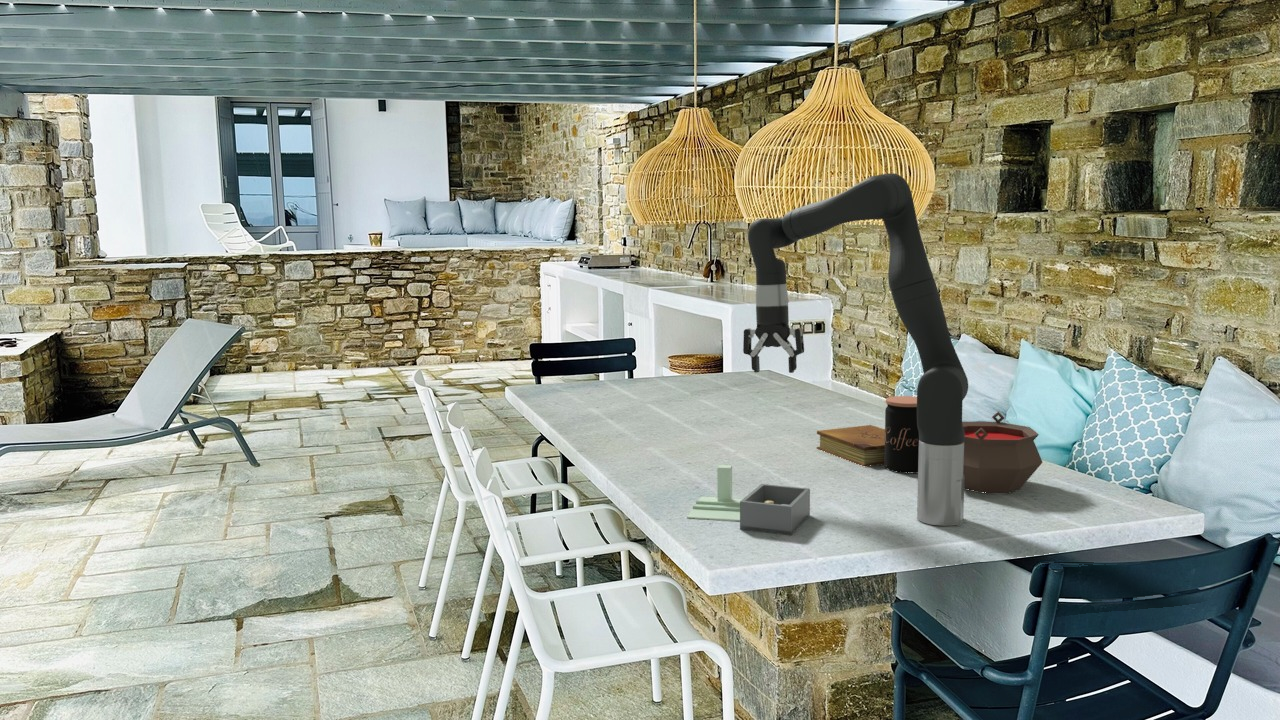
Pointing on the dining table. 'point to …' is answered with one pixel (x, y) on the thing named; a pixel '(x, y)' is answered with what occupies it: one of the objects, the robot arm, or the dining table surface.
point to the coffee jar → (901, 434)
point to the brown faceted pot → (998, 456)
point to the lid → (719, 500)
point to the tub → (775, 509)
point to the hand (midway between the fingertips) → (774, 372)
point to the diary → (855, 444)
